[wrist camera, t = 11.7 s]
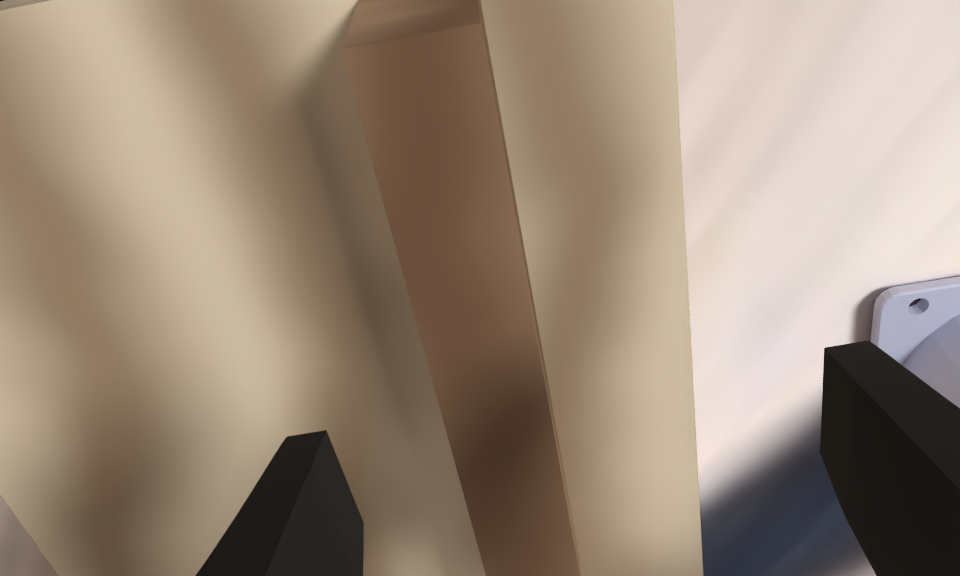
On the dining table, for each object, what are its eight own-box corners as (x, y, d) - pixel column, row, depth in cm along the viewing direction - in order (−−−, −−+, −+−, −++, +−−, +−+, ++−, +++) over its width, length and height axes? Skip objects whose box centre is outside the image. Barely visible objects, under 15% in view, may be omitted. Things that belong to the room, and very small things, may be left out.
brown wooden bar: (476, -25, 17) (480, 23, 14) (578, 557, 27) (592, 649, 24) (358, -2, 17) (341, 49, 14) (503, 567, 27) (509, 660, 24)
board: (655, -130, 17) (666, -123, 16) (706, 729, 34) (712, 754, 33) (-269, 55, 18) (-304, 71, 17) (232, 786, 36) (226, 811, 35)
